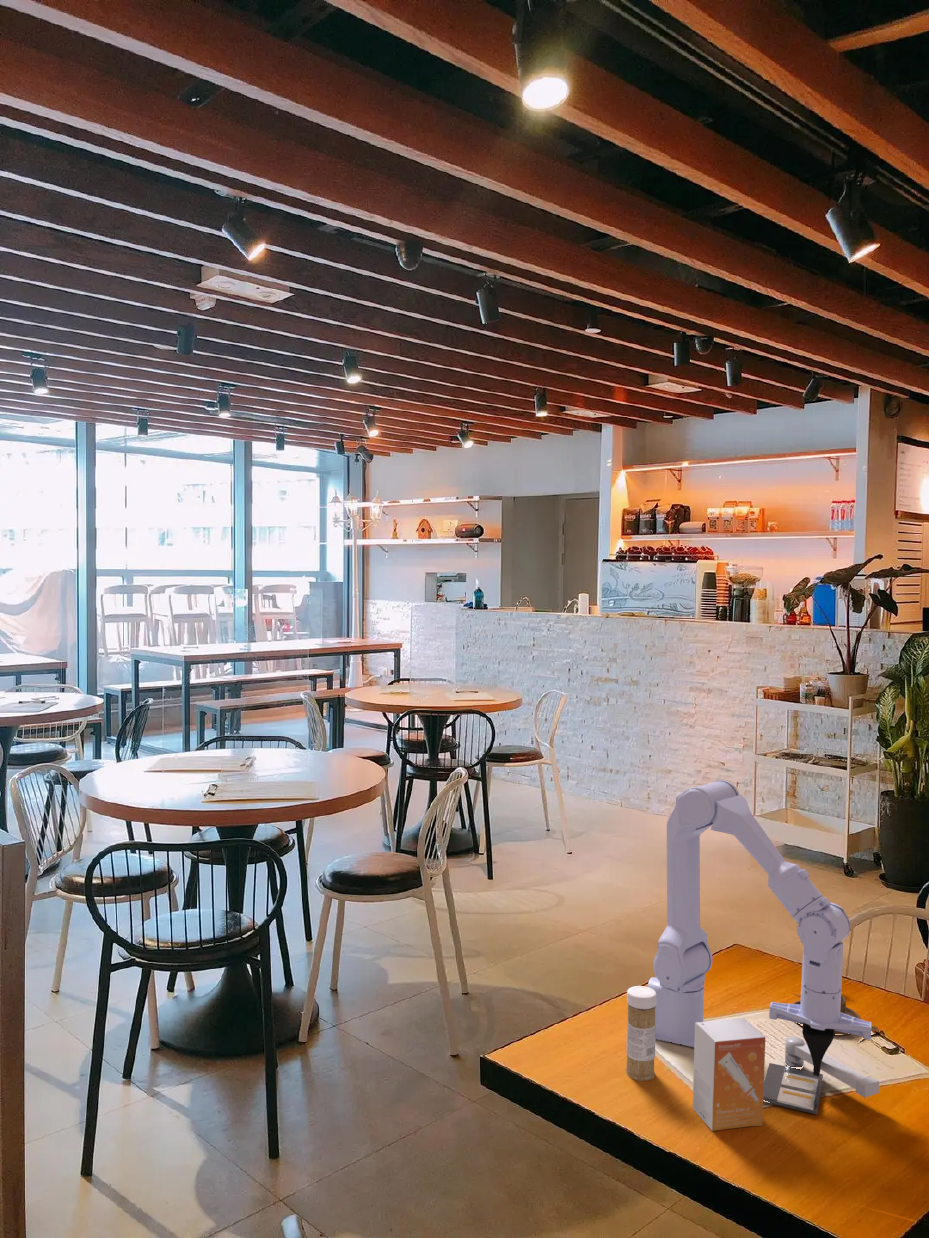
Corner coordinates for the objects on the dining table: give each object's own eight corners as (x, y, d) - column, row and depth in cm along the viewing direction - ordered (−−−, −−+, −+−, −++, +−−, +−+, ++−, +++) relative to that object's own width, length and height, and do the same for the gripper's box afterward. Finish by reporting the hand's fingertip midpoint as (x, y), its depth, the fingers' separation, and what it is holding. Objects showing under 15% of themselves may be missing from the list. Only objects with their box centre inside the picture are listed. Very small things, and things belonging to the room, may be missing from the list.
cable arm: (781, 1049, 153) (781, 1038, 153) (794, 1045, 155) (794, 1034, 155) (864, 1097, 139) (865, 1085, 139) (878, 1092, 141) (879, 1080, 141)
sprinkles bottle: (642, 1065, 152) (644, 982, 152) (661, 1078, 148) (662, 993, 148) (619, 1071, 150) (621, 987, 150) (637, 1085, 146) (639, 999, 146)
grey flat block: (759, 1102, 142) (759, 1089, 142) (772, 1056, 156) (772, 1044, 156) (816, 1116, 138) (817, 1102, 138) (824, 1067, 152) (825, 1055, 152)
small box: (712, 1132, 134) (714, 1041, 133) (691, 1108, 140) (693, 1021, 140) (764, 1126, 136) (766, 1036, 135) (741, 1102, 142) (743, 1016, 141)
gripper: (768, 985, 145) (764, 1073, 145) (872, 1006, 138) (867, 1097, 139) (774, 968, 151) (770, 1052, 152) (873, 987, 145) (869, 1075, 145)
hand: (817, 1072), depth 146 cm, fingers closed, pressing on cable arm
